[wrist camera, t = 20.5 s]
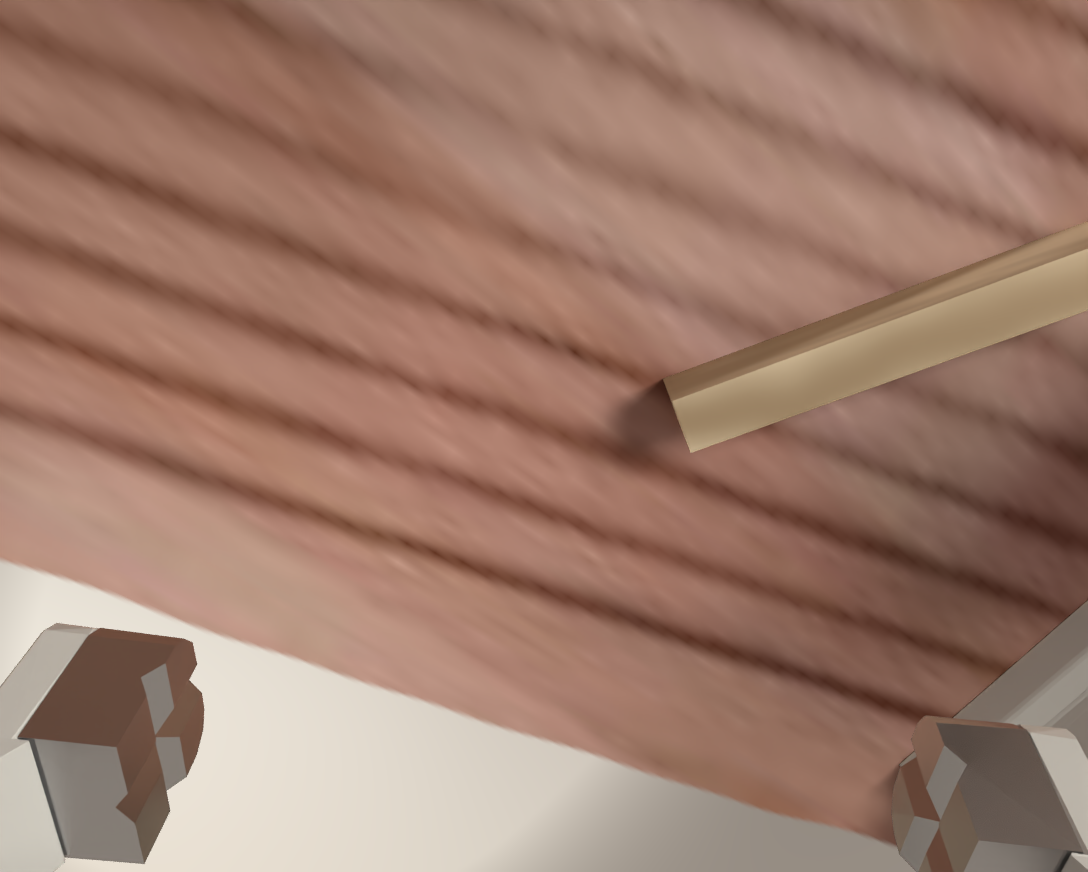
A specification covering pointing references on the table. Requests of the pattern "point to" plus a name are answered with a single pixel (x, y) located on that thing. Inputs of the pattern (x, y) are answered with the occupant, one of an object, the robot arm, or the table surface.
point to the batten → (884, 339)
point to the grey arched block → (1042, 685)
